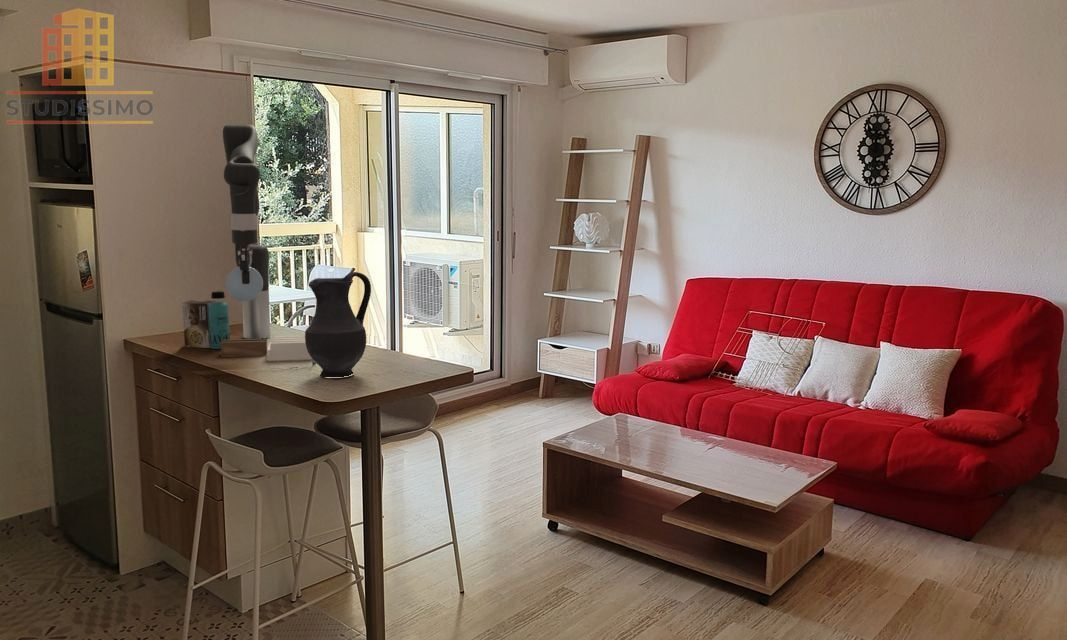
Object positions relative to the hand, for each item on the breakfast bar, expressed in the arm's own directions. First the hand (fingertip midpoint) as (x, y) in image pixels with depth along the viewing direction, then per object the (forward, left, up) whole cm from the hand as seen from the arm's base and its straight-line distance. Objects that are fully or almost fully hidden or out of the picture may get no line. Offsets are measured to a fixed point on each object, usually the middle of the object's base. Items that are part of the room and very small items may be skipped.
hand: (246, 283), depth 263 cm
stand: (-1, -1, -24) cm, 24 cm away
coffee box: (-18, -17, -24) cm, 34 cm away
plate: (0, -1, -6) cm, 6 cm away
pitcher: (+28, +29, -24) cm, 47 cm away
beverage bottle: (-13, -10, -24) cm, 29 cm away
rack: (+4, +14, -24) cm, 28 cm away
